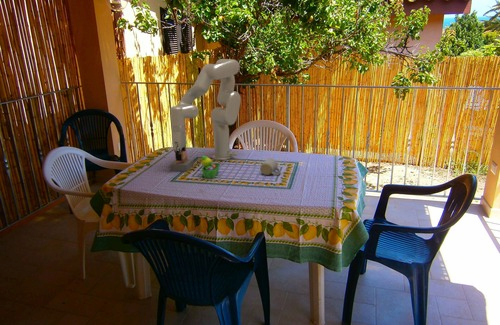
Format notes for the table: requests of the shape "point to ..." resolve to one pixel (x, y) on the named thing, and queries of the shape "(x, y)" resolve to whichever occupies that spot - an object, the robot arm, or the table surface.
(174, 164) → the charcoal base
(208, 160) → the green bird basket
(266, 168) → the ceramic mug
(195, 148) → the table surface
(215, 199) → the table surface
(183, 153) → the terracotta block
